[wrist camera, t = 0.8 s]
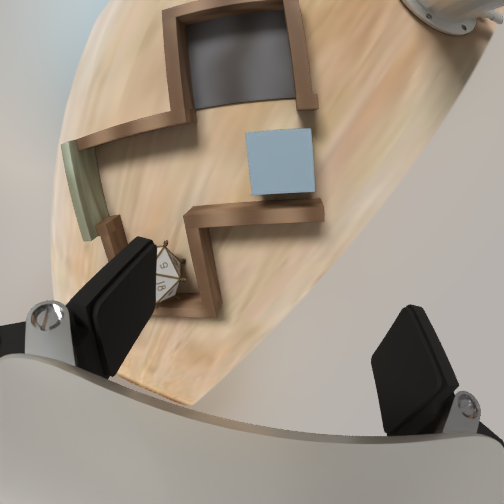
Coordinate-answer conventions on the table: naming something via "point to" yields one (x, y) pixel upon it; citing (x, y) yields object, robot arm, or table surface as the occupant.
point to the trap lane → (183, 111)
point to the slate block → (280, 161)
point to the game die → (167, 274)
